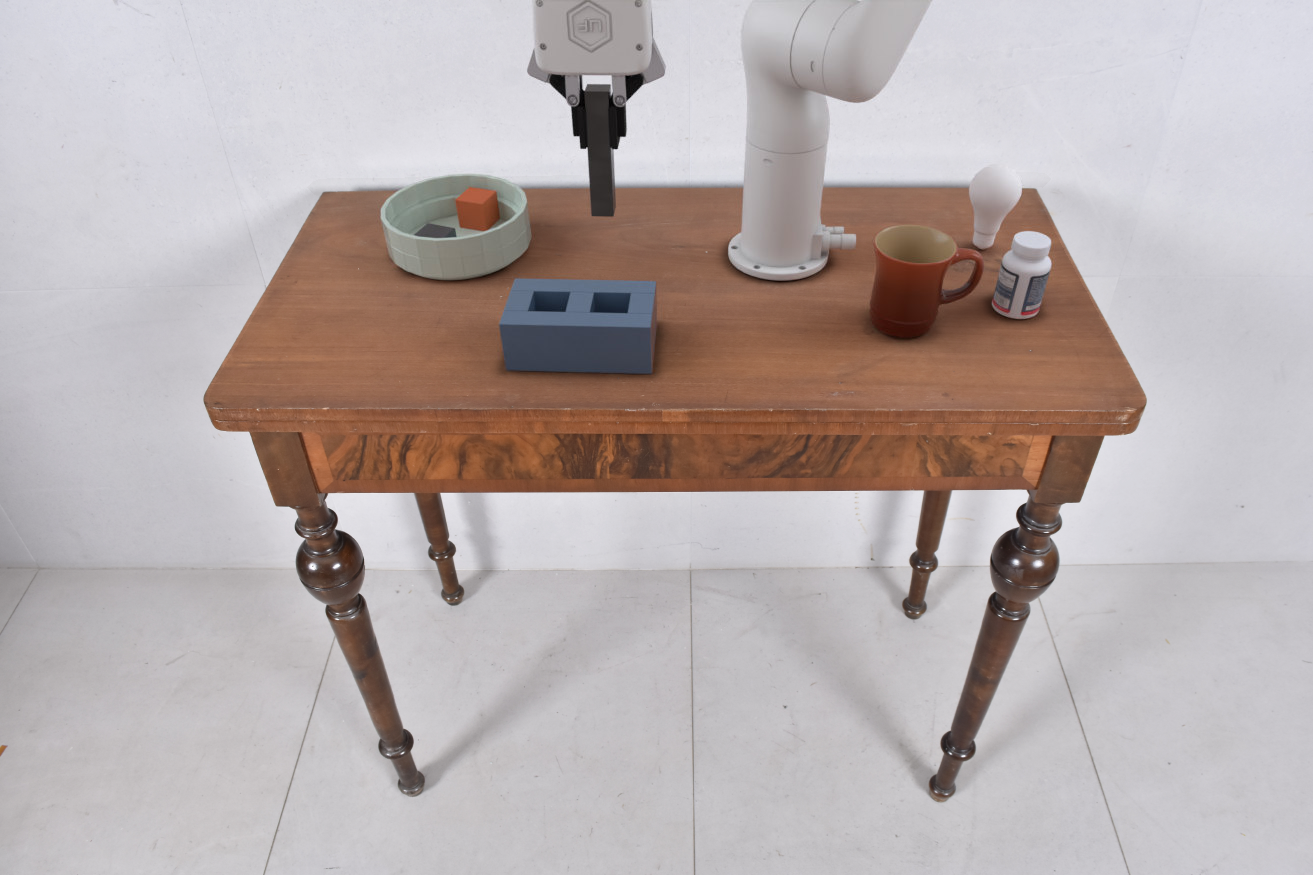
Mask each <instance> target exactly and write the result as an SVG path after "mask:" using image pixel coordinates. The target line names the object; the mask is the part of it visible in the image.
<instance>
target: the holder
mask: <svg viewBox="0 0 1313 875" xmlns="http://www.w3.org/2000/svg"><path fill="white" fill-rule="evenodd" d="M657 298H658V295H657V281H656V280H623V279H620V280H619V279H573V278H572V279H571V278H570V279H569V278H568V279H567V278H563V279H562V278H519V277H518V278H517V277H516V278H514V280H513V283H512V286H511V288H510V291H509V294H508V296H507V300H506V302H505V306H504V308H503V311H502V314H501V317H500V320H499V323H498V327H499V334H500V341H501V348H502V353H503V354H502V355H503V359H504V366H505V371H510V372H512V371H514V372H516V371H517V372H550V373H551V372H554V373H559V372H560V373H594V374H595V373H597V374H630V375H631V374H632V375H634V374H635V375H636V374H638V375H652V374H653V373H652V372H653V368H654V367H653V366H654V357H655V347H656V341H657V340H656V338H657V330H658V304H657V303H658V299H657Z"/></svg>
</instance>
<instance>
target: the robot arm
mask: <svg viewBox="0 0 1313 875" xmlns="http://www.w3.org/2000/svg"><path fill="white" fill-rule="evenodd" d="M531 1H532V2H531V3H532V4H531V6H532V27H533V28H532V32H533V50H532V53H531V56H530V60H529V63H528V65H527V69H526V73H527V74H528V76H529V77H532V78H534V79H536V80H538V81H540V82H543V83H547V84H548V85H551V87H552V88H553V89H554V90H555V91H556V92H557V93H559V94H560V95H561V96H562V97H563V98H564V99H565V100H566V103H567V105H568V106H570V112H571V124H572V125H571V127H572V136H573V137H579V148H580V150H587V147H588V141H587V124H586V108H585V98H584V91H585V89H584V76H611V103H610V107H609V108H608V120H609V140H610V147H611V148H612V149H614V150H619V146H620V141H621V138H626V136H627V130H628V128H627V127H628V126H627V125H628V124H627V102H628V101H629V100H630V99H631V98H632V97H633V96H634V95H635V94H636V93H637V91H639V89H640V88H642V87H643V86H644V85H646V84H650V83H653V82H654V81H656V80H659V79H661V78H663V77H664V76H665V75H666V69H667V66H666V63H665V61H664V59H663V57H662V54H661V51H660V50H659V47H658V45H657V42H656V40H655V38H654V25H653V9H652V8H653V6H652V0H531ZM932 2H933V0H752V1H751V2H750V4H749V5H748V7H747V9H746V11H745V13H744V15H743V19H742V23H741V30H740V47H741V48H740V49H741V57H742V63H743V64H742V65H743V70H744V78H745V85H746V87H745V88H746V124H745V125H746V126H745V127H746V128H745V144H744V145H745V146H744V166H743V185H742V186H743V187H742V188H743V189H742V207H741V208H742V209H741V210H742V211H741V229H740V230H741V231H740V232H739V233H737V234H736V235H735V236H733V237H732V238H731V240H730V241H729V243H728V248H727V256H728V259H729V262H730V263H731V264H732V265H733V266H734V267H735V268H736V269H737V270H739V271H741V272H742V273H744V274H746V275H749V276H751V277H754V278H757V279H762V280H769V281H779V282H780V281H783V282H784V281H795V280H801V279H804V278H809V277H810V276H813V275H815V274H816V273H818V272H820V271H821V270H822V269H823V268H824V267H826V265H827V263H828V262H829V261H828V260H829V255H830V253H829V252H830V250H841V251H843V250H845V251H854V250H856V246H857V234H856V233H845V227H844V226H826V224H822V216H821V211H822V209H821V208H822V201H823V200H822V199H823V192H824V191H823V189H824V182H825V181H824V180H825V179H824V178H825V171H826V162H827V152H828V143H829V137H830V126H831V124H830V123H831V122H830V121H831V120H830V110H829V105H828V104H829V103H828V100H827V97H830V98H833V99H836V100H838V101H843V102H847V103H853V104H859V103H865V102H868V101H870V100H872V99H873V98H875V97H876V96H877V95H879V94H880V93H881V92H882V91H883V90H884V88H886V86H887V84H888V83H889V81H890V80H891V78H892V76H893V75H894V73H895V71H896V70H897V68H898V67H899V64H900V62H901V61H902V59H903V58H904V55H905V53H906V51H907V49H908V47H909V45H910V43H911V42H912V40H913V38H914V36H915V34H916V32H917V30H918V29H919V27H920V25H921V22H922V21H923V19H924V17H925V15H926V14H927V11H928V9H929V7H930V5H931V3H932ZM826 96H827V97H826Z"/></svg>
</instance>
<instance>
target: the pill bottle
mask: <svg viewBox="0 0 1313 875" xmlns="http://www.w3.org/2000/svg"><path fill="white" fill-rule="evenodd" d="M1012 238H1013V239H1012V242H1011V245H1010V247H1011V248H1010V249H1009V250H1007V252H1006V253H1005V254H1004V255H1003V257H1002V259H1001V263H1000V267H999V271H998V276H997V280H996V284H995V288H994V292H993V296H992V300H991V306H992V308H993V310H994V311H995V312H997V313H998V314H999V315H1001V316H1004V317H1006V318H1009V319H1015V320H1026V319H1027V320H1028V319H1030V318H1033V317H1035V316H1036V315H1037V314H1038V313H1039V311H1040V308H1041V305H1042V302H1043V299H1044V294H1045V292H1046V287H1047V283H1048V280H1049V277H1050V273H1051V269H1052V260H1051V258H1050V256H1049V254H1050V250H1051V247H1052V239H1051V238H1050V237H1049V236H1048V235H1046V234H1044V233H1042V232H1038V231H1032V230H1025V231H1019V232H1017V233H1015V234H1014V236H1013V237H1012Z"/></svg>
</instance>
